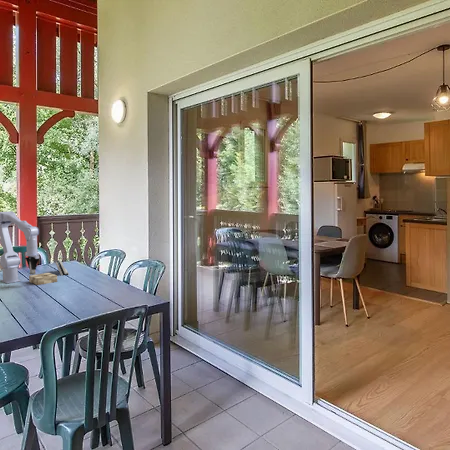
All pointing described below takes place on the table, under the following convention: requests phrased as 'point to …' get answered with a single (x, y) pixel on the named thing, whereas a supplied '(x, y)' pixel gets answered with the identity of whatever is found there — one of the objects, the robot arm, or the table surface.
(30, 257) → the peg
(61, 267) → the grey stapler
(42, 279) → the knuckle block
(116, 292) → the table surface
